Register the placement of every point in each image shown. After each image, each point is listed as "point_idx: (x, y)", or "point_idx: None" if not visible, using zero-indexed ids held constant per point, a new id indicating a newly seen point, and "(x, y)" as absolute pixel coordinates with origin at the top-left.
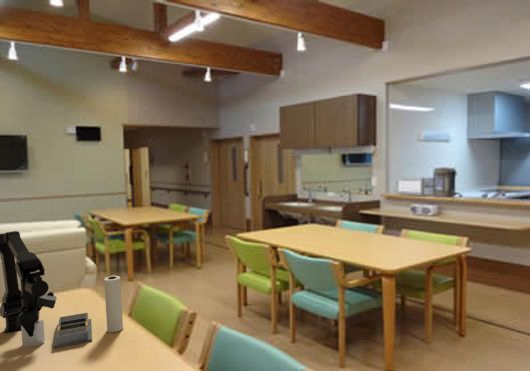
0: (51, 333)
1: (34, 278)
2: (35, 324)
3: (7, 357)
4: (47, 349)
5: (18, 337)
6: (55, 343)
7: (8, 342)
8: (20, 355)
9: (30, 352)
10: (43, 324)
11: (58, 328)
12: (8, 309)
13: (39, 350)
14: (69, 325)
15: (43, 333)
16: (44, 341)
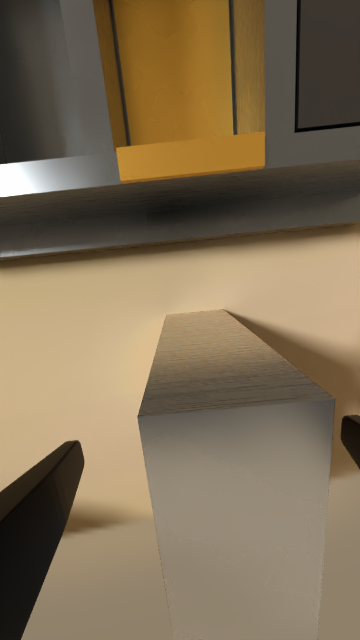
0: (50, 290)
1: None
2: (320, 509)
3: (333, 468)
4: (342, 266)
5: None
6: (331, 207)
7: (121, 508)
8: (344, 411)
9: (331, 366)
10: (193, 369)
11: (195, 160)
12: None
13: (330, 317)
14: (96, 11)
15: (241, 328)
16: (194, 312)
